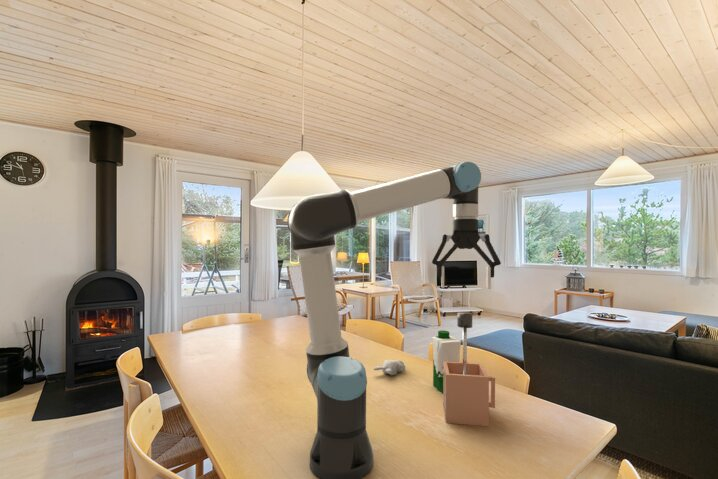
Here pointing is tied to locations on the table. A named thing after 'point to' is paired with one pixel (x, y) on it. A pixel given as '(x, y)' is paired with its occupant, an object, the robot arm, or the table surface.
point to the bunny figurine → (391, 367)
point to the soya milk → (443, 355)
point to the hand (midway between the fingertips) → (465, 287)
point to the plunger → (464, 334)
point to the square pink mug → (467, 393)
